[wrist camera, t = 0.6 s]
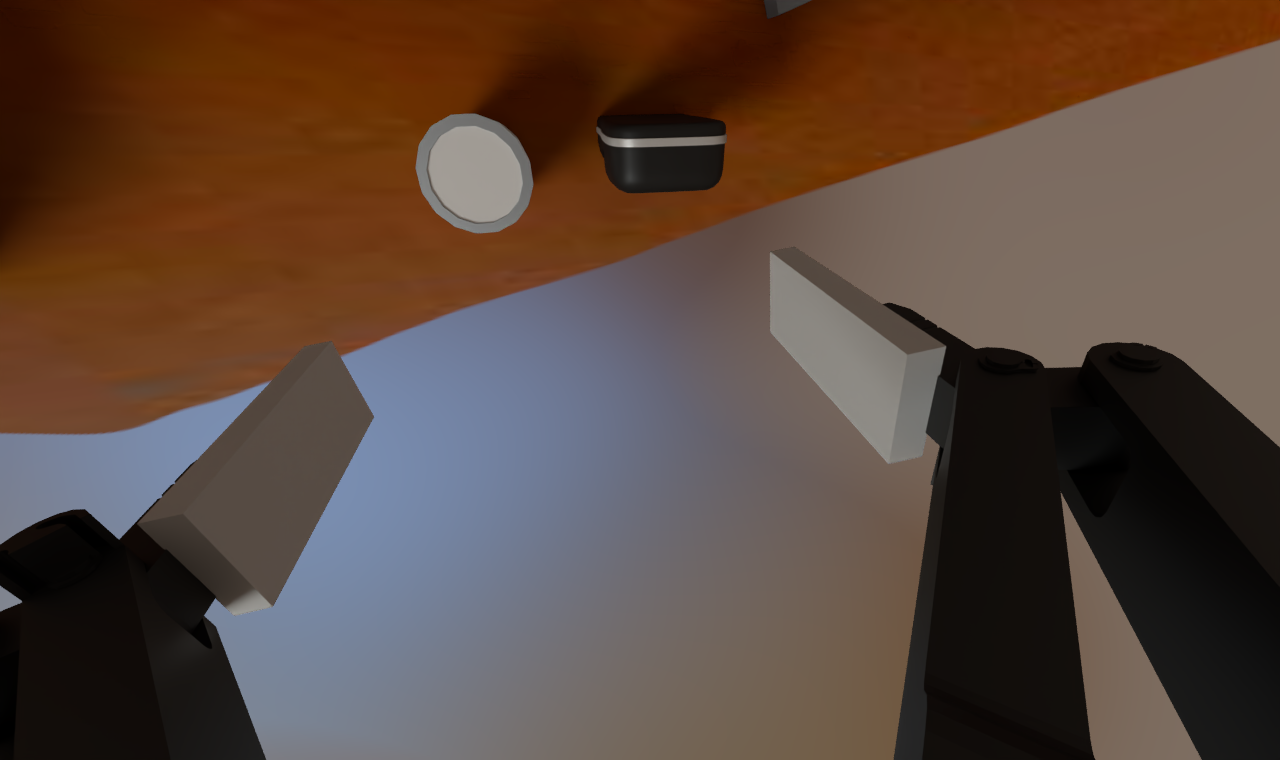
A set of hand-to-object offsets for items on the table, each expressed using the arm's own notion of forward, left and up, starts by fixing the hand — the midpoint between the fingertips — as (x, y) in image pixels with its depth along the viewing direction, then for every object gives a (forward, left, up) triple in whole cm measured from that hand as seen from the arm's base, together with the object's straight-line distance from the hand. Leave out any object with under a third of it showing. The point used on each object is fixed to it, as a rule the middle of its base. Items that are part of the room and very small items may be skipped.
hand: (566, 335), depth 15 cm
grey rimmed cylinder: (-3, -4, -27) cm, 27 cm away
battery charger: (0, +7, -26) cm, 27 cm away
